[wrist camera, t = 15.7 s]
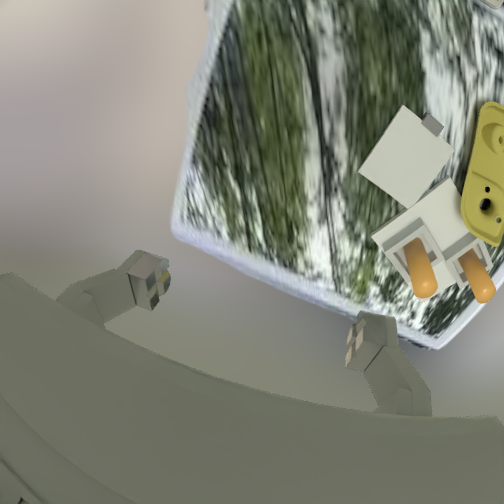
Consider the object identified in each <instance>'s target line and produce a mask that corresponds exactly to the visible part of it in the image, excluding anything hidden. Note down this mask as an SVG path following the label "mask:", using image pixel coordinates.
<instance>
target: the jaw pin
mask: <svg viewBox="0 0 504 504" xmlns="http://www.w3.org/2000/svg"><path fill="white" fill-rule="evenodd" d="M403 251H404V255H405V258H406V262H407V266H408V270H409V274H410V278H411V283H412V287H413V292H414V294H415V296H416V297H418V298H421V299H425V298H429V297H431V296H432V295H433V294H435V292H436V291H437V288H438V284H437V280H436V277H435V274H434V271H433V269H432V266H431V263H430V260H429V258H428V255H427V252H426V250H425V247H424V244H423V242H422V240H421V239H419V238H417V237H416V238H414V239H413V240H412V241H410V242H409V243H407V244H406V245H404V246H403Z"/></svg>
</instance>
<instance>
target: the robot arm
mask: <svg viewBox="0 0 504 504" xmlns="http://www.w3.org/2000/svg"><path fill="white" fill-rule="evenodd" d="M480 1H482V2H484V3H486V4H487V5H489V6H490V7H492V8H494V9H498V8H500V7H501V5H502V3H503V1H504V0H480ZM168 267H169V260H168V259H166V258H163V257H160V256H157V255H154V254H151V253H147V252H145V251H142V250H136V251H135V252H134V253H133V254H132V255H131V256H130V257H129V258H128V259H127V260H126V261H125V262H124V263H123V264H122V265H121V266H120V267H119V268H118V269H117V270H116V269H112V270H109V271H106V272H103V273H101V274H98V275H95V276H92V277H89V278H86V279H84V280H81V281H78V282H75V283H73V284H71V285H70V286H69V287H68V288H67V289H66V290H65V291H64V292H63V293H62V294H61V295H60V296H59V297H58V298H57V299H56V300H54V299H52V298H50V297H49V296H48V295H46V294H44V293H43V292H41V291H40V290H38V289H37V288H35V287H34V286H32V285H31V284H30V283H28V282H27V281H25V280H24V279H22V278H21V277H20V276H18V275H17V274H15V273H12V272H11V273H6V274H2V275H0V504H504V426H503V424H502V422H501V421H500V420H499V419H498V417H497V416H494V415H486V416H485V415H484V416H466V417H432V405H431V391H430V389H429V388H428V386H427V385H426V383H425V382H424V380H423V379H422V377H421V376H420V375H419V373H418V372H417V370H416V369H415V367H414V366H413V364H412V363H411V362H410V360H409V359H408V357H407V356H406V354H405V353H404V352H403V350H402V349H399V344H398V335H397V326H396V319H395V318H394V317H390V316H385V315H379V314H375V313H370V312H366V311H360V312H359V313H358V315H357V321H356V323H354V324H353V325H352V327H351V329H350V331H349V334H348V339H347V347H348V349H349V351H348V352H347V354H346V362H345V368H348V369H352V370H357V371H362V372H364V375H365V377H366V380H367V382H368V384H369V386H370V388H371V390H372V393H373V395H374V397H375V399H376V401H377V404H378V406H379V407H378V408H377V409H376V410H374V411H373V412H367V411H360V410H353V409H346V408H340V407H334V406H328V405H324V404H318V403H313V402H309V401H304V400H299V399H295V398H291V397H287V396H282V395H278V394H274V393H271V392H267V391H263V390H260V389H256V388H253V387H249V386H246V385H242V384H239V383H236V382H232V381H230V380H226V379H223V378H220V377H217V376H214V375H212V374H209V373H206V372H203V371H200V370H197V369H195V368H192V367H189V366H187V365H184V364H182V363H179V362H177V361H174V360H172V359H169V358H167V357H164V356H162V355H160V354H157V353H155V352H153V351H150V350H148V349H146V348H144V347H141V346H139V345H137V344H135V343H133V342H131V341H129V340H126V339H124V338H122V337H120V336H118V335H116V334H114V333H112V332H110V331H108V330H106V328H105V326H104V323H106V322H108V321H110V320H112V319H113V318H115V317H117V316H119V315H121V314H123V313H125V312H126V311H128V310H130V309H132V308H134V307H135V306H136V305H137V306H139V307H142V308H145V309H148V310H150V311H152V310H153V309H154V308H155V306H156V305H157V304H158V302H159V296H162V295H164V294H165V293H166V292H167V290H168V288H169V286H170V281H171V276H170V273H169V272H168V270H167V269H168Z"/></svg>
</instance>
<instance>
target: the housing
mask: <svg viewBox="0 0 504 504" xmlns="http://www.w3.org/2000/svg"><path fill="white" fill-rule="evenodd" d="M461 198H462V197H461V196H460V194H459V192H458V190H457V188H456V186H455V185H454V183H453V181H452V180H451V178H450V177H449V176H448V175H447V176H446V177H445V178H443V179H442V180H441V181H440V182H438V183H437V184H436V185H435V186H433V187H432V188H431V189H430V190H428V191H427V192H426V193H424V194H423V195H422V196H421V197H420V198H419V200H418V201H417V202H416V203H415V204H414V205H413V206H411V207H410V208H409V209H407V208H405V209H403V210H402V211H401V212H399V213H398V214H397V215H395V216H394V217H393V218H391V219H390V220H389V221H387V222H386V223H384V224H383V225H382V226H380V227H379V228H378V229H376V230H375V231H373V232H372V233H371V237H372V238H373V240H374V241H375V242H376V243H377V245H378V246H379V247H380V248H381V249H382V251H383V252H384V253H385V255H386V256H387V257H388V258H389V260H390V261H391V262H392V264H393V265H394V266H395V267H396V269H397V270H398V271H399V273H400V274H401V275H402V277H403V278H404V279H405V281H406V282H407V284H408V285H409V286H410V288H411V289H412V290H413V287H412V283H411V278H410V274H409V270H408V266H407V262H406V258H405V255H404V251H403V246H404V245H406V244H407V243H409V242H410V241H412V240H413V239H414V238H416V237H417V238H419V239H421V240H422V242H423V244H424V247H425V250H426V252H427V255H428V258H429V260H430V263H431V266H432V269H433V271H434V274H435V277H436V280H437V284H438V288H437V291H436V292H435V294H433V295H432V296H431V297H433V296H435V295H436V294H438V293H439V292H441V291H443V290H444V289H446V288H447V287H449V286H450V285H452V284H454V283H455V282H457V284H458V286H459V288H460V289H462V288H464V287H465V286H467V285H468V284H470V286H471V288H472V290H473V293H474V295H475V297H476V300H477V302H479V303H486V302H488V301H490V300H491V299H492V298H493V296H494V295H495V292H496V288H495V286H494V284H493V282H492V280H491V278H490V276H489V274H488V273H487V271H488V270H489V269H491V268H492V267H493V264H492V262H491V259H490V256H489V254H488V251H487V248H486V246H485V244H484V241H483V240H481V239H479V238H477V237H476V236H474V235H473V234H472V233H471V232H470V231H469V230H468V229H467V228H466V226H465V224H464V222H463V219H462V216H461ZM431 297H429V298H425V299H421V298H418V299H419V300H420V302H421V303H423V302H425V301H426V300H428V299H430V298H431Z"/></svg>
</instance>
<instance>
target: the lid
mask: <svg viewBox="0 0 504 504" xmlns="http://www.w3.org/2000/svg"><path fill="white" fill-rule="evenodd" d="M443 128H444V126H442V125H441V124H440V123H439V122H438V121H437V120H436V119H435V118H434V117H432V116H431V115H430V114H429V113H427V112H426V114H425V115H424V117H423V118H422V120H421V119H420V118H419V117H417V116H416V115H415V114H414V113H413V112H411V111H410V110H409V109H407V108H406V107H405V106H404V105H401V106H400V108H399V110H398V111H397V113H396V114H395V116H394V117H393V119H392V120H391V122H390V123H389V125H388V126H387V128H386V129H385V131H384V132H383V134H382V135H381V137H380V138H379V140H378V141H377V143H376V144H375V146H374V147H373V149H372V150H371V152H370V153H369V155H368V156H367V157H366V159H365V160H364V162H363V163H362V165H361V166H360V168H359V169H358V172H359V173H360V174H362V175H363V176H365V177H366V178H367V179H369V180H370V181H372V182H373V183H374V184H376V185H377V186H379V187H380V188H381V189H383V190H384V191H385V192H387V193H388V194H389V195H391V196H392V197H393V198H394V199H396V200H397V201H398V202H400V203H401V204H402V205H403V206H405V207H406V208H407V209H409V208H410V207H411V206H413V205H414V204H415V203H416V202H417V201H418V200H419V198H420V197H421V196H422V195H423V193H424V192H425V191H426V189H427V188H428V187H429V185H430V184H431V183H432V181H433V180H434V179H435V177H436V176H437V175H438V173H439V172H440V171H441V169H442V168H443V166H444V165H445V164H446V162H447V161H448V159H449V158H450V157H451V155H452V154H453V152H454V151H455V150H454V149H453V148H452V147H451V146H450V145H449V144H448V143H447V142H446V141H445V140H444V139H443V138H442V137H440V136H439V134H440V132H441V131H442V129H443Z"/></svg>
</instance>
